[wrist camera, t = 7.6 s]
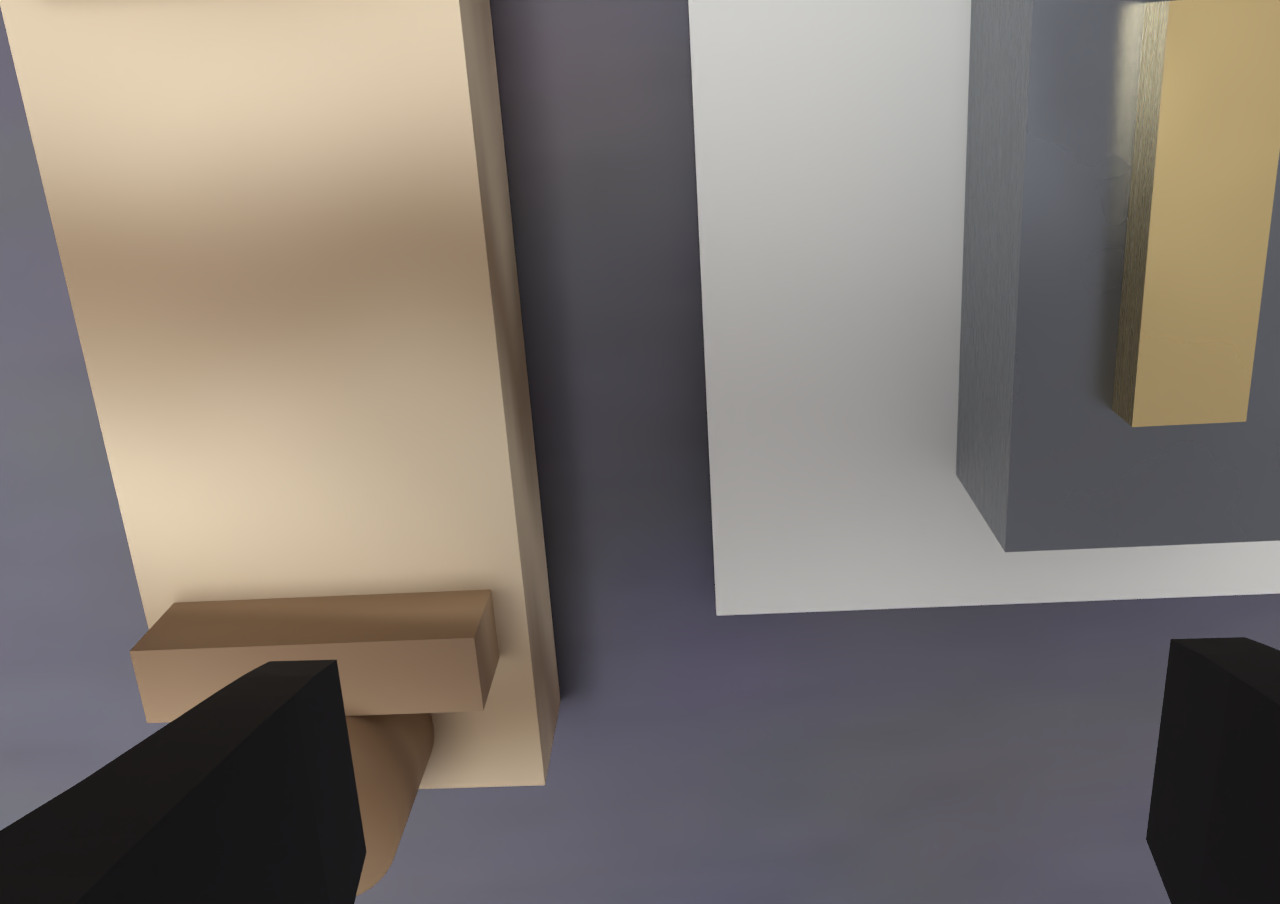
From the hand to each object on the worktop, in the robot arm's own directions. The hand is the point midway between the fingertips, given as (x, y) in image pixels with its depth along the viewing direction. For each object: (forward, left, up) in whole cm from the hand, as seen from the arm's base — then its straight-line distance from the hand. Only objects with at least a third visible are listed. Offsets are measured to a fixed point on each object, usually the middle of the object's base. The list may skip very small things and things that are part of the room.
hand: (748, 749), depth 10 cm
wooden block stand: (+6, +2, -10) cm, 12 cm away
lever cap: (-3, -6, -9) cm, 11 cm away
